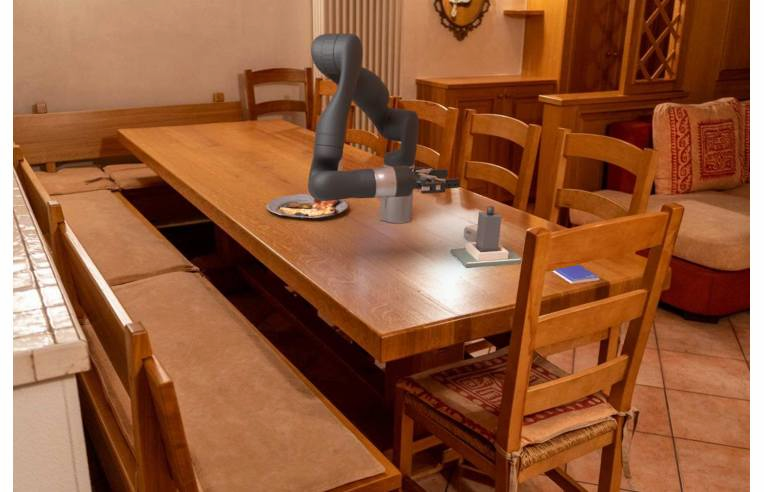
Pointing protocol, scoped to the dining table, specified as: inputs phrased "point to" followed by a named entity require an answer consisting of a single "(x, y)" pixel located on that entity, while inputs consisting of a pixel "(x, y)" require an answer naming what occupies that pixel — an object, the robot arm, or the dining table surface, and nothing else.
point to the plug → (488, 230)
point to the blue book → (576, 274)
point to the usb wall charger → (471, 233)
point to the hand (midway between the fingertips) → (453, 178)
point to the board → (485, 256)
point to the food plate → (306, 206)
